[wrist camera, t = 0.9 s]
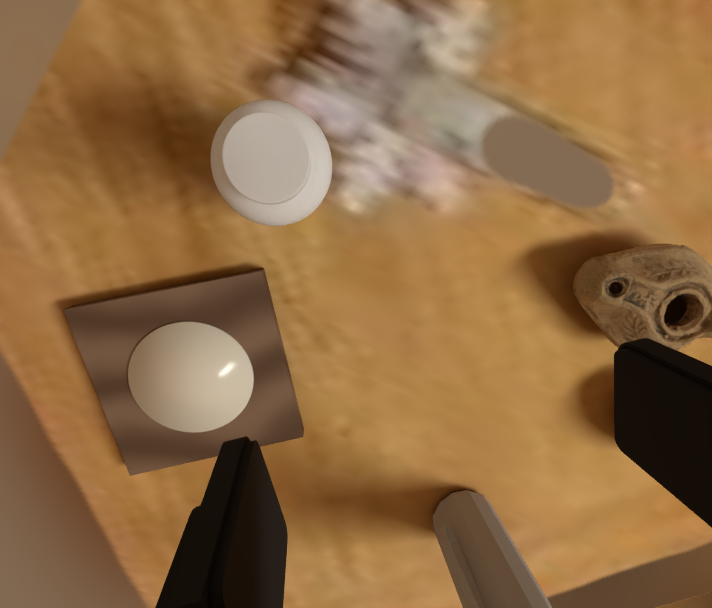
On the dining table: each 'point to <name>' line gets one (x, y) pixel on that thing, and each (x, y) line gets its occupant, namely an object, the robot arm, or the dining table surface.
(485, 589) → the water bottle
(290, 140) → the pill bottle
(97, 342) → the serving board
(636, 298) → the oil lamp
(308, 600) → the dining table surface
